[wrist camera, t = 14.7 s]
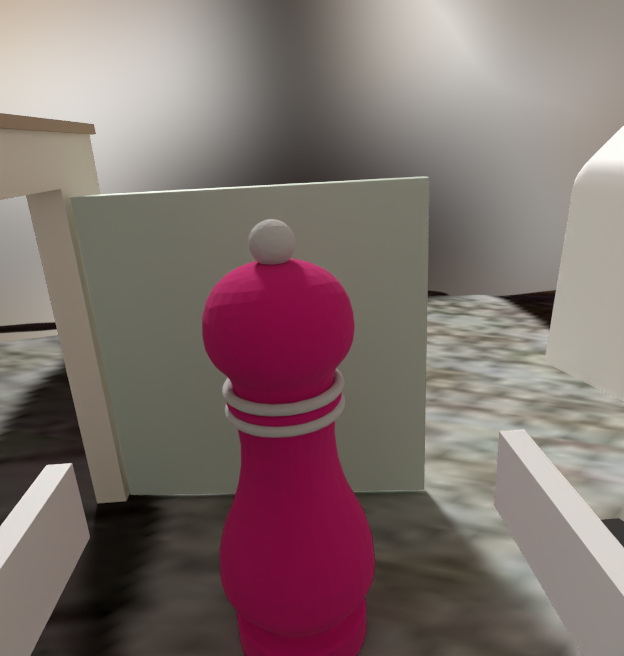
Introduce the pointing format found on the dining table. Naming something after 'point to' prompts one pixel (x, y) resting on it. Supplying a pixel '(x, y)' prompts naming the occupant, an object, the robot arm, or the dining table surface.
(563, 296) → the milk
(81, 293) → the door frame
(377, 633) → the dining table surface
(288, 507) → the pepper mill
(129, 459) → the door
